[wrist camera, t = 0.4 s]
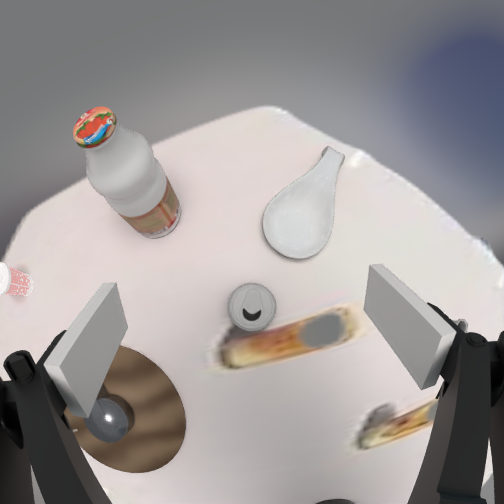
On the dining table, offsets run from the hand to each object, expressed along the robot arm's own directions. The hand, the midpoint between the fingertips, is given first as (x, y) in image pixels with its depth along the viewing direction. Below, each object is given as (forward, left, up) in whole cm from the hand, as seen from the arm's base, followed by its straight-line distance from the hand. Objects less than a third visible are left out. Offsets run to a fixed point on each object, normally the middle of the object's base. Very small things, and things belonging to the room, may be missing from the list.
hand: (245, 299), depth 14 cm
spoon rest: (+11, -21, -35) cm, 42 cm away
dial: (-1, +30, -34) cm, 45 cm away
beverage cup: (+26, +38, -35) cm, 58 cm away
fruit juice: (+23, +5, -35) cm, 42 cm away
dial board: (-5, +30, -35) cm, 46 cm away
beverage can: (0, -1, -35) cm, 35 cm away
